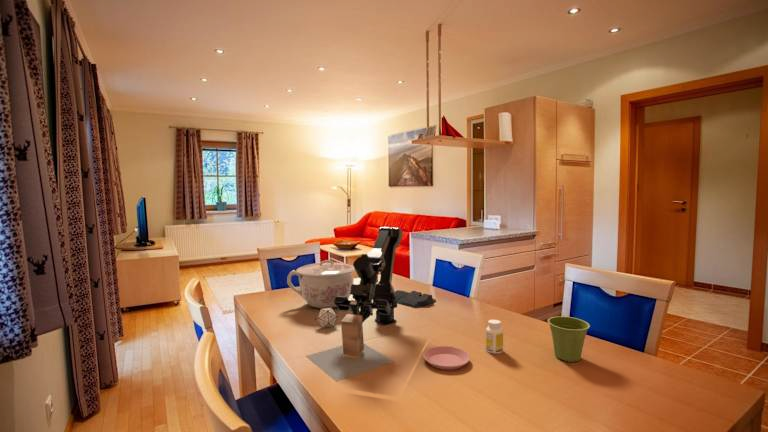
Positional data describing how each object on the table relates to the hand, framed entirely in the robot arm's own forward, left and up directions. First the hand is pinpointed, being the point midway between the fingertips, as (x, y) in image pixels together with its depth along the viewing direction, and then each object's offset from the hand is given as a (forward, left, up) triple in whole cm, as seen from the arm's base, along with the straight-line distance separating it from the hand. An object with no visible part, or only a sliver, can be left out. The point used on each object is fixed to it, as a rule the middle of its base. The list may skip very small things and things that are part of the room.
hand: (355, 328), depth 124 cm
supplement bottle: (-38, +25, -9) cm, 46 cm away
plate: (-20, +21, -9) cm, 30 cm away
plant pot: (-52, +42, -9) cm, 67 cm away
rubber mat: (+4, +3, -8) cm, 10 cm away
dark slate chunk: (-52, -35, -9) cm, 63 cm away
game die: (-4, -27, -9) cm, 29 cm away
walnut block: (+1, +1, -7) cm, 7 cm away
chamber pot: (-18, -54, -9) cm, 57 cm away
